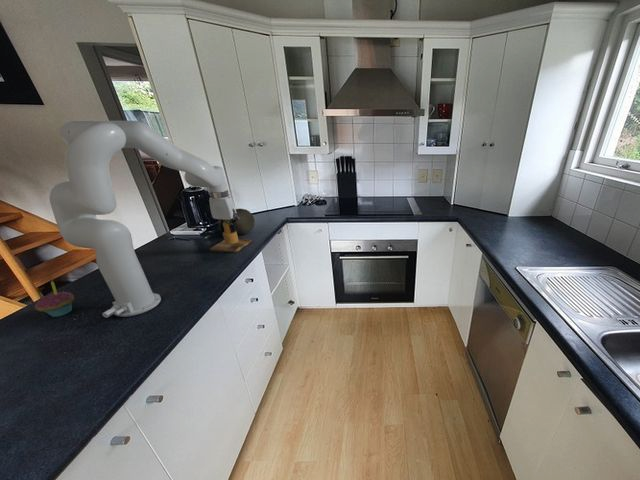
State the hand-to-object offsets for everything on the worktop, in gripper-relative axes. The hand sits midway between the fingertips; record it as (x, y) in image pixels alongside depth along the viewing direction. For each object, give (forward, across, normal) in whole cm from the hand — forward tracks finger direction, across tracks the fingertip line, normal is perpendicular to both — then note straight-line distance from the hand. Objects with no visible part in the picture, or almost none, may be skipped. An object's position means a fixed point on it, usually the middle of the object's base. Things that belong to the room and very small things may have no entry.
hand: (229, 231), depth 133 cm
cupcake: (+10, -26, -55) cm, 62 cm away
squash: (+6, 0, 0) cm, 6 cm away
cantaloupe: (+10, -7, +20) cm, 23 cm away
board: (+10, -4, +4) cm, 12 cm away
